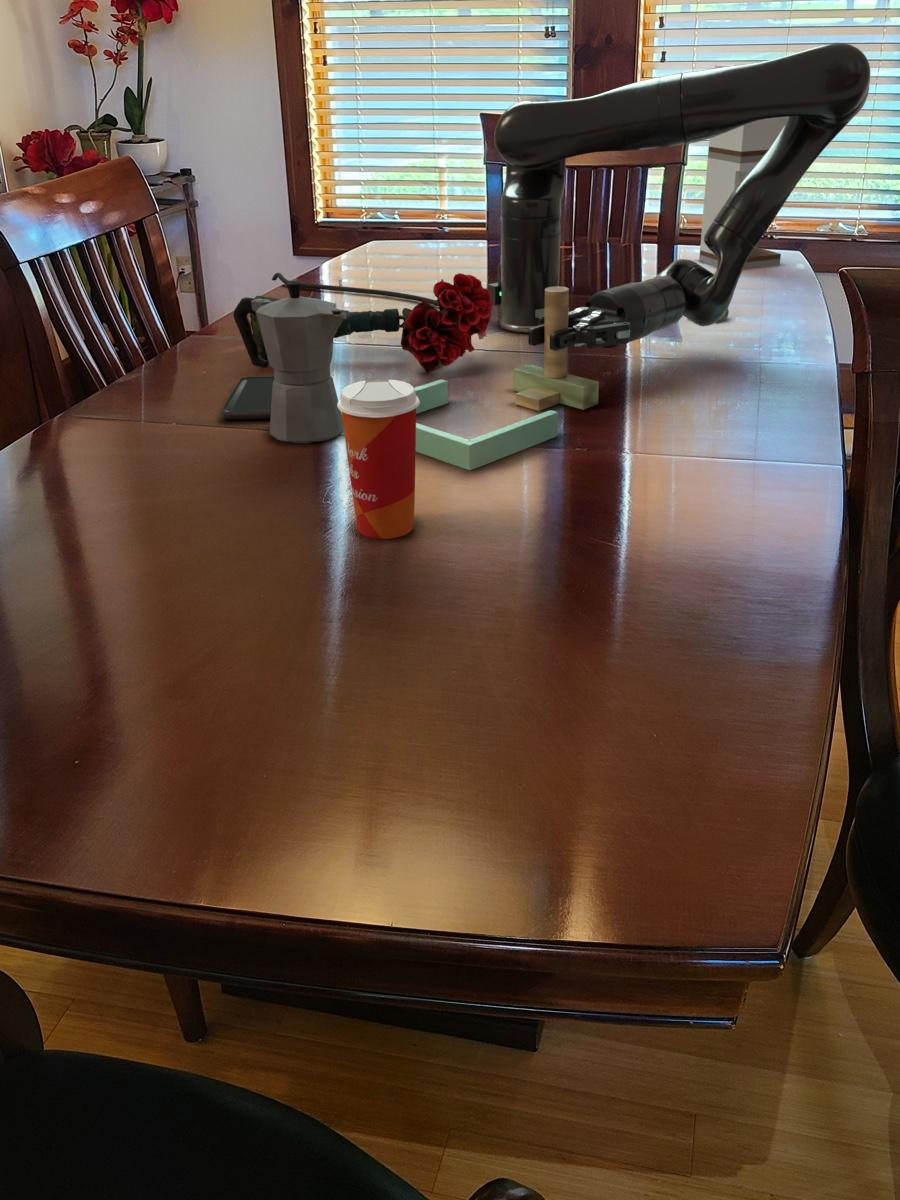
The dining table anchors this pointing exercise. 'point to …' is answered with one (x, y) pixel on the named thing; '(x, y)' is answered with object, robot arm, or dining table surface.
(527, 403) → the beige square block
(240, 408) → the phone
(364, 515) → the paper cup
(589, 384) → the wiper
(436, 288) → the carnation
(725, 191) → the white pillar
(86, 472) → the dining table surface
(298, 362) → the coffeepot
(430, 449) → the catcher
